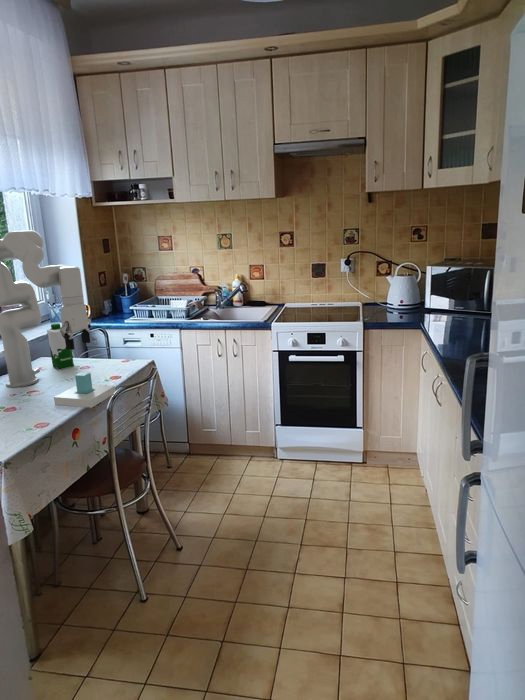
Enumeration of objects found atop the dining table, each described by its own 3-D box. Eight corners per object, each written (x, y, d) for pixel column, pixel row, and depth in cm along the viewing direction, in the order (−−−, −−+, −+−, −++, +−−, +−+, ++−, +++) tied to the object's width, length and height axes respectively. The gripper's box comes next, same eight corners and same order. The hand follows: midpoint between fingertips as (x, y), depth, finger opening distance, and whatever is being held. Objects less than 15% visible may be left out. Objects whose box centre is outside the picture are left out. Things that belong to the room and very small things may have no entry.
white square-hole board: (89, 385, 218) (88, 378, 217) (123, 388, 213) (123, 381, 213) (54, 404, 198) (53, 397, 197) (91, 407, 193) (90, 399, 192)
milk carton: (67, 362, 254) (62, 322, 249) (76, 366, 248) (71, 324, 243) (50, 367, 248) (43, 325, 243) (59, 370, 242) (52, 327, 237)
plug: (84, 396, 205) (81, 372, 203) (93, 397, 204) (90, 372, 202) (78, 400, 201) (75, 375, 199) (87, 400, 200) (84, 375, 198)
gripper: (78, 296, 202) (83, 339, 207) (48, 304, 186) (55, 351, 191) (95, 296, 200) (100, 340, 204) (66, 305, 184) (72, 352, 188)
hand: (78, 345), depth 198 cm, fingers open, 9 cm apart
